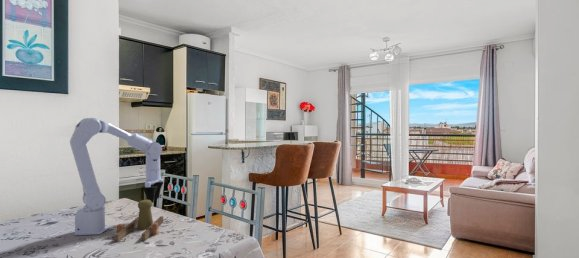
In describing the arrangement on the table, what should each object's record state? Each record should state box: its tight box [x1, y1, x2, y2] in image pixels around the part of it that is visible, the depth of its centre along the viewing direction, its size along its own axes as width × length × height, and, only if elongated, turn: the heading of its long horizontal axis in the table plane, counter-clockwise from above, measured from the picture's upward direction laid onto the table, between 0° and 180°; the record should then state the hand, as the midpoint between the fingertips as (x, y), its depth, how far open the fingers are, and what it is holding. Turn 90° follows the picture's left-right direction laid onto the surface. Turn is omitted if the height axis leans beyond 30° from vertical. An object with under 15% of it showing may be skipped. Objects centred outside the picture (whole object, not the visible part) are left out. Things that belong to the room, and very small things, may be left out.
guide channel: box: [114, 215, 164, 243], centre depth 122 cm, size 14×21×4 cm
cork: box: [136, 199, 154, 231], centre depth 126 cm, size 6×6×11 cm
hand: (153, 200), depth 136 cm, fingers open, 6 cm apart
